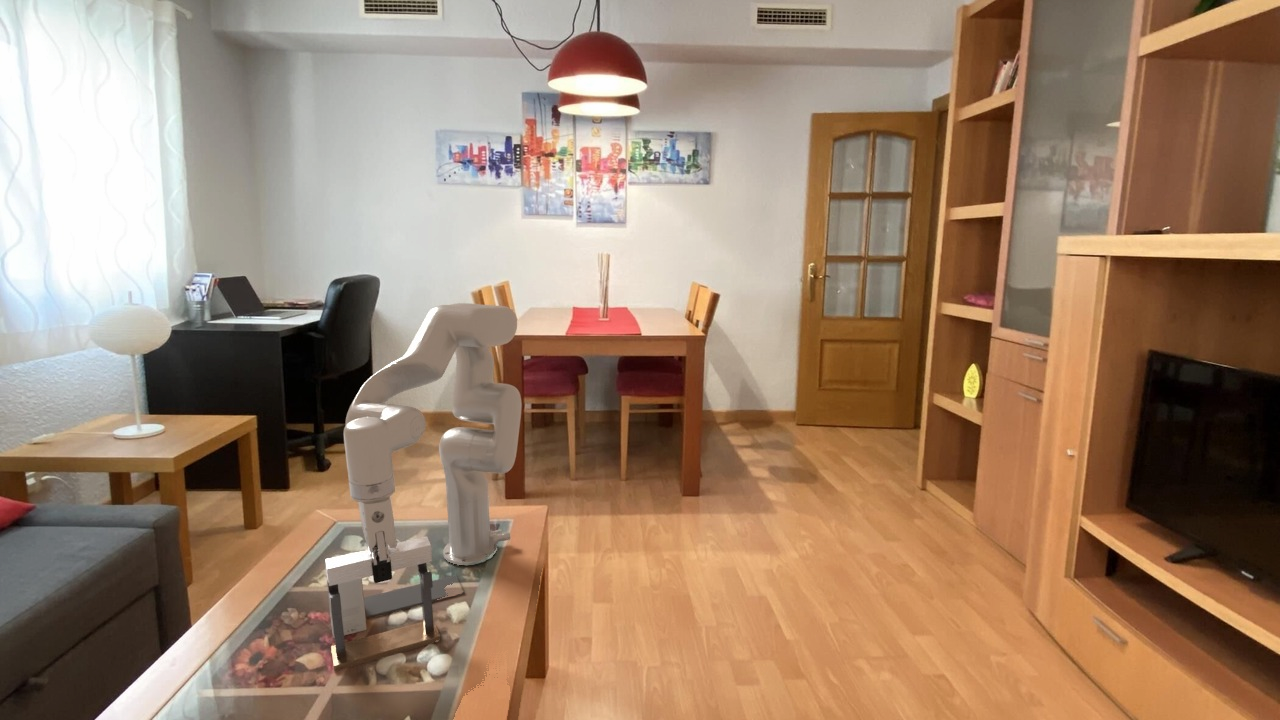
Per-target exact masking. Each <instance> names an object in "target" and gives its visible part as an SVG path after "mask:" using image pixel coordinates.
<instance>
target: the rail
mask: <svg viewBox="0 0 1280 720" xmlns="http://www.w3.org/2000/svg"><path fill="white" fill-rule="evenodd" d="M388 550H389V558H390V560H391V569H392V572H393V571H398V570H401V569H405V568H410V567H414V566H417V565H419V564H423V563H426V564H428V563H429V562H433V558H432V544H431V542H430V540H429V538H428V536H427V535H426V536H422V537H417V538H413V539H408V540H403V541H400V542H397V546H396V547H395V548H390V547H389V545H388ZM377 555H378V552H376V556H377ZM325 561H326V563H325V569H326V568H327V575H328V582H329V586H332V585H336V584H340V583H344V582H349V581H353V580H357V579H361V578H362V579H364V578H368V577H373V570H372V563H373V555H372V553H371V552H369V550H368V549H364V550H360V551H357V552H351V553H347V554H342V555H338V556H334V557H329V558H325Z"/></svg>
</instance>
